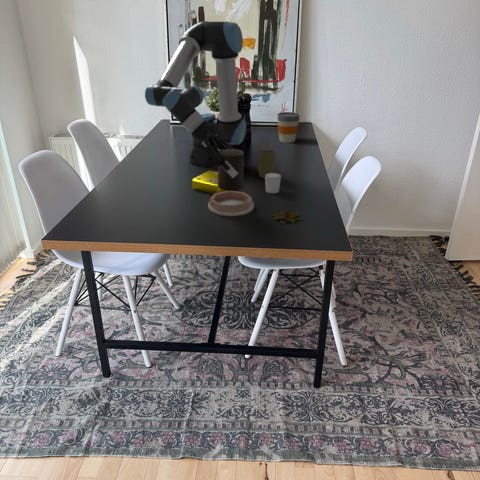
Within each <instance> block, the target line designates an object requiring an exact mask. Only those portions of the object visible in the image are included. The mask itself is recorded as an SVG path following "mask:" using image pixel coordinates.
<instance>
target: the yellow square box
mask: <svg viewBox="0 0 480 480" xmlns="http://www.w3.org/2000/svg"><path fill="white" fill-rule="evenodd" d="M191 185H192V189H193V190H196V191H201V192H205V193H209V194H212V195H214V194H215V193H219V192H224V191H226V190H222V189H220V188H219V187H218V171H214V170H208V171H205V172H204V173H202V174H200V175H198V176H195V177H194V178H192V184H191Z"/></svg>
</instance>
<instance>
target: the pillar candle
mask: <svg viewBox="0 0 480 480" xmlns="http://www.w3.org/2000/svg"><path fill="white" fill-rule="evenodd" d="M219 152H220V153H221V155H222V157H223V158H224V160H225V161H226V160H227V161H228V163H229V164H230V165H231V166H232V167H233V168H234V169H235V170H236V171H237V172H238V174H237V175H236V176H235V177H234V178H232V177H231V176H230V175H229V174H228V173H227V172H226V170H225V169H224V168H223V167H222V166H221V165H220V166H219V167H218V166H217V172H218V187H219V188H220V189H222V190H226V191H237V192H238V191H239V190H242V189H243V188H244V166H245V164H244V163H245V162H244V160H245V159H244V158H245V157H244V156H245V153H244V151H243V150H241V149H237V148H233V149H223V150H219Z"/></svg>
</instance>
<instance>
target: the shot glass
mask: <svg viewBox="0 0 480 480" xmlns="http://www.w3.org/2000/svg"><path fill="white" fill-rule="evenodd" d="M281 178H282V174H280V173H276V172H274V173H268V174H265V178H264V180H265V181H264V183H265V192H266V193H269V194H276V193H279V192H280V185H281Z"/></svg>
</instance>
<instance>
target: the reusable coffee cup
mask: <svg viewBox="0 0 480 480" xmlns="http://www.w3.org/2000/svg"><path fill="white" fill-rule="evenodd" d="M299 121H300V113H296V112H291V111H290V112H287V111H286V112H285V111H284V112H279V113H277V132H278V137H279V141H280V142H281V143H287V144H289V143H294V142H295V141H296V137H297V134H298V129H299V125H300V124H299Z"/></svg>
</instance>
